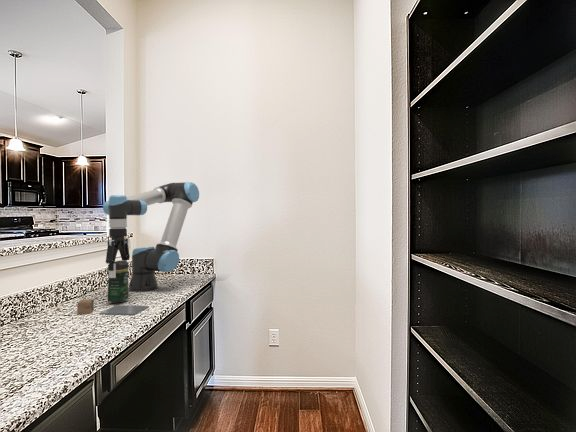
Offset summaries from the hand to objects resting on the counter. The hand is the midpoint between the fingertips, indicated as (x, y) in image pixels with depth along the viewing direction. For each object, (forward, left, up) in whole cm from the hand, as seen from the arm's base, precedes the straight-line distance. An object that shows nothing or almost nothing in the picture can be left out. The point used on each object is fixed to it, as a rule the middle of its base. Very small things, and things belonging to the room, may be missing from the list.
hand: (118, 275), depth 171 cm
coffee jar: (0, 0, -12) cm, 12 cm away
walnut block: (+18, -4, -13) cm, 23 cm away
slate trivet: (+14, +11, -12) cm, 22 cm away
